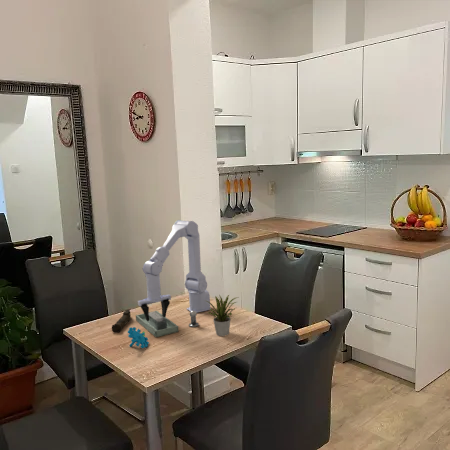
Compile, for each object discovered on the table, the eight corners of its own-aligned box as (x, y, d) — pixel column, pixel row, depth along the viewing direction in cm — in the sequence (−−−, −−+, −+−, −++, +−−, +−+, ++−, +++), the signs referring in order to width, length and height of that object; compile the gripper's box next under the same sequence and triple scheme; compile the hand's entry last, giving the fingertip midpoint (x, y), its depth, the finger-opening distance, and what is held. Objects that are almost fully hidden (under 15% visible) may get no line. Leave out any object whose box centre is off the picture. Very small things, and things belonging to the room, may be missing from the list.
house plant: (250, 332, 187) (248, 294, 184) (227, 343, 177) (225, 303, 174) (224, 325, 196) (222, 288, 194) (201, 335, 186) (199, 296, 184)
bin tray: (157, 315, 212) (156, 310, 212) (178, 331, 191) (178, 326, 191) (136, 320, 207) (135, 315, 207) (155, 337, 186) (155, 331, 186)
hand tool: (120, 333, 193) (119, 322, 192) (111, 333, 194) (110, 322, 193) (135, 317, 212) (135, 308, 211) (127, 317, 212) (126, 308, 212)
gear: (142, 348, 172) (125, 329, 173) (132, 359, 173) (115, 339, 174) (154, 341, 182) (138, 322, 184) (145, 351, 183) (129, 332, 185)
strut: (155, 319, 205) (154, 311, 205) (167, 328, 194) (166, 319, 193) (147, 321, 203) (146, 313, 203) (158, 330, 192) (157, 321, 191)
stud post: (196, 322, 201) (195, 308, 200) (200, 325, 197) (199, 310, 196) (187, 325, 198) (186, 310, 197) (191, 328, 195) (190, 313, 194)
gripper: (140, 293, 190) (143, 324, 192) (172, 287, 197) (174, 317, 199) (135, 289, 196) (137, 320, 198) (166, 283, 203) (168, 313, 205)
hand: (155, 318), depth 199 cm, fingers open, 7 cm apart
